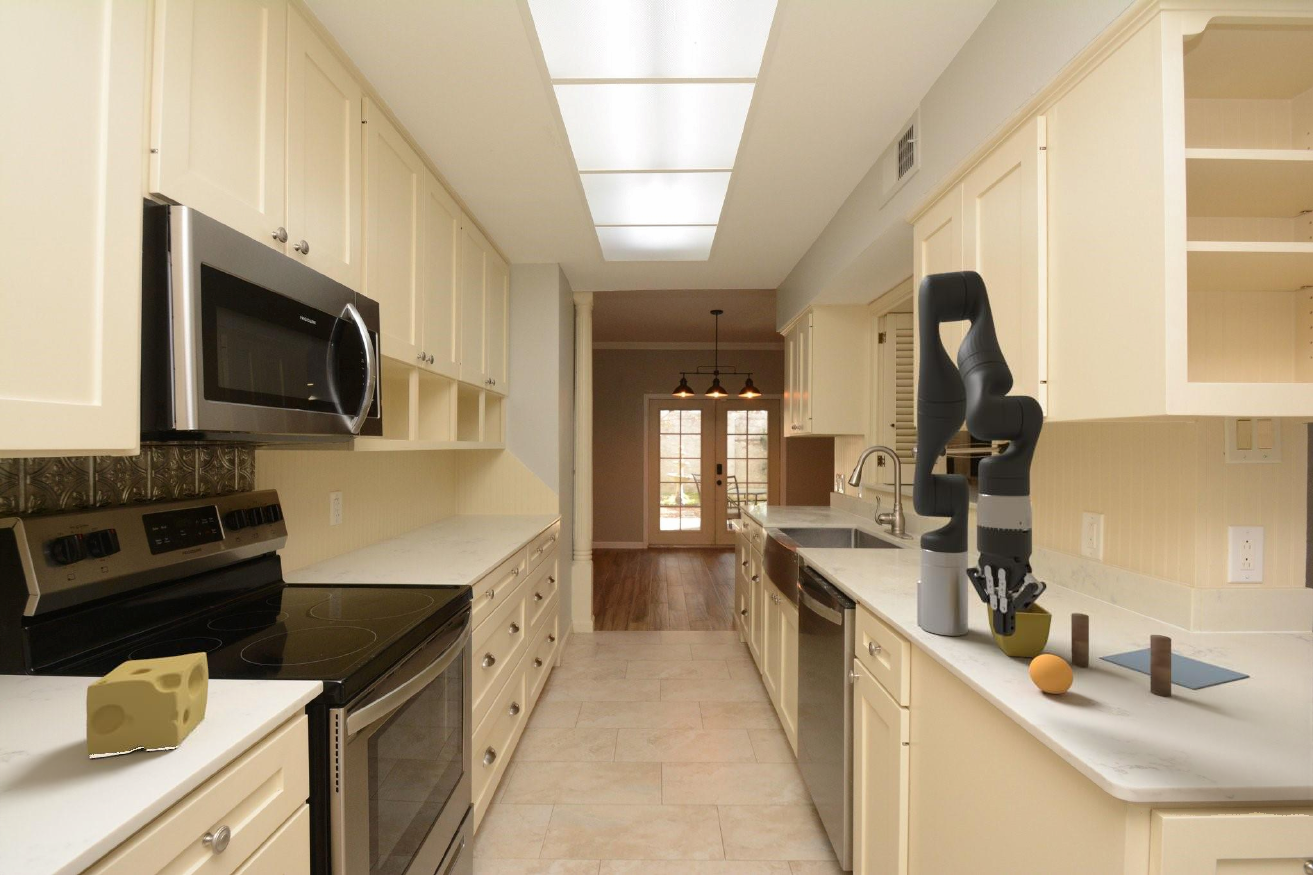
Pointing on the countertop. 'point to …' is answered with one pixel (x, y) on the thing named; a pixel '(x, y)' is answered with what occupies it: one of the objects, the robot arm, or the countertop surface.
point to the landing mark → (1178, 669)
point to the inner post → (1080, 640)
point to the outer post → (1160, 665)
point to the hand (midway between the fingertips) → (1004, 634)
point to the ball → (1051, 674)
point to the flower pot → (1025, 632)
